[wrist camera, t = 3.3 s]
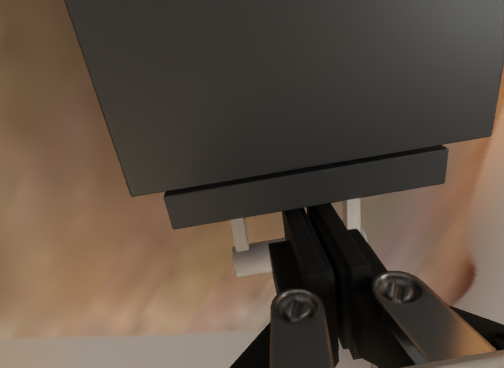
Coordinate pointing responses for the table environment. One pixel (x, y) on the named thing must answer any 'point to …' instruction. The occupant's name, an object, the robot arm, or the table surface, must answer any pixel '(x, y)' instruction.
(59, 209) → the table surface
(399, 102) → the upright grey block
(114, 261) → the table surface
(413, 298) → the robot arm
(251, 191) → the drawer
